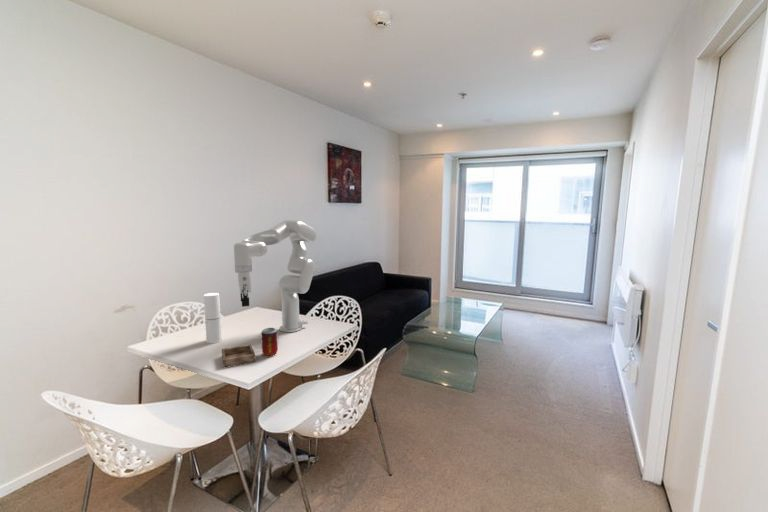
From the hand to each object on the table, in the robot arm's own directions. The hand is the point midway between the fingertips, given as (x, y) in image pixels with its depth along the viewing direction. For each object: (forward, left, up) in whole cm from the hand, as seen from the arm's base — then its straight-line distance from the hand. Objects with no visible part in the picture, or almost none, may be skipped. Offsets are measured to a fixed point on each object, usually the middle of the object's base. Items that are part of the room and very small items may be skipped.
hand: (244, 303), depth 164 cm
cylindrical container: (+14, -20, -24) cm, 34 cm away
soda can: (-9, +10, -24) cm, 27 cm away
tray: (+5, +9, -24) cm, 26 cm away
